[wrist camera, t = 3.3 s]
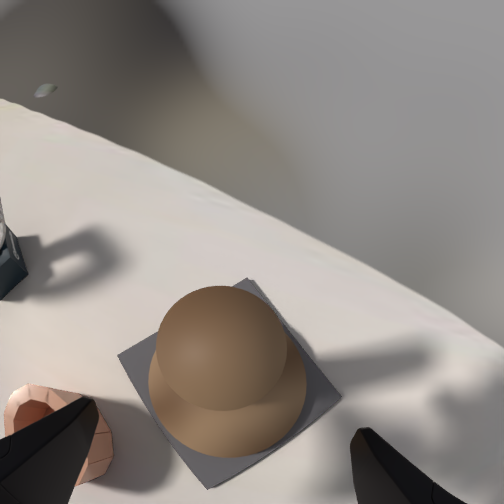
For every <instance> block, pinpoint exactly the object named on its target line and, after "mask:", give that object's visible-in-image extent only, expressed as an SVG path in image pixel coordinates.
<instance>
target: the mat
mask: <svg viewBox="0 0 504 504" xmlns="http://www.w3.org/2000/svg"><path fill="white" fill-rule="evenodd" d="M232 287H235V288H239V289H243V290H245V291H248V292H250V293H252V294H254V295H256V296H257V297H259V298H260V299H262V300H263V301H264V302H265V303H266V304H267V302H266V301H265V300H264V299H263V297H262V296H261V295H260V293H259V292H258V291H257V290H256V288H255V287H254V286H253V284H252V283H251V282H250V281H249V279H248V278H245V279H244V280H242V281H240V282H239V283H237V284H236V285H234V286H232ZM269 307H270V306H269ZM277 317H278V316H277ZM279 320H280V319H279ZM280 322H281V320H280ZM281 324H282V327H283V329H284V332H285V333H286V334H287V335H288V336H289V338H290V339H291V340H292V342H293V343H294V344H295V346H296V348H297V349H298V351H299V353H300V355H301V358H302V361H303V364H304V368H305V372H306V382H307V386H306V396H305V401H304V405H303V408H302V410H301V413H300V415H299V417H298V419H297V421H296V422H295V424H294V425H293V426H292V428H291V429H290V430H289V432H288V433H287V434H286V435H285V436H284V437H283V438H281V439H280V440H279V441H278V442H276V443H275V444H274V445H272V446H270V447H269V448H267V449H265V450H263V451H260V452H258V453H255V454H252V455H248V456H243V457H236V458H222V457H214V456H210V455H206V454H202V453H200V452H197V451H195V450H193V449H191V448H189V447H187V446H186V445H184V444H182V443H181V442H180V441H178V440H177V439H176V438H174V437H173V436H172V435H171V434H170V433H169V432H168V431H167V429H166V428H165V427H164V426H163V424H162V423H161V421H160V420H159V418H158V416H157V414H156V413H155V410H154V408H153V405H152V402H151V398H150V394H149V385H148V380H149V370H150V364H151V361H152V358H153V355H154V353H155V351H156V340H157V335H158V332H156V333H154V334H153V335H151V336H149V337H148V338H146V339H144V340H142V341H141V342H139V343H137V344H136V345H134V346H132V347H131V348H129V349H127V350H125V351H124V352H122V353H120V354H119V355H117V356H118V358H119V360H120V362H121V364H122V366H123V367H124V369H125V371H126V373H127V375H128V377H129V378H130V380H131V382H132V384H133V386H134V387H135V389H136V391H137V393H138V394H139V396H140V398H141V399H142V401H143V403H144V404H145V406H146V407H147V409H148V411H149V412H150V414H151V415H152V417H153V418H154V420H155V422H156V423H157V425H158V426H159V428H160V429H161V430H162V432H163V433H164V435H165V436H166V438H167V439H168V441H169V442H170V443H171V445H172V446H173V448H174V449H175V450H176V452H177V453H178V454H179V456H180V457H181V458H182V460H183V461H184V462H185V463H186V465H187V466H188V467H189V469H190V470H191V471H192V472H193V473H194V475H195V476H196V477H197V478H198V480H199V481H200V482H201V483H202V484H203V485H204V487H205V488H206V489H207V490H208V489H210V488H212V487H213V486H215V485H217V484H219V483H221V482H223V481H225V480H226V479H228V478H230V477H232V476H233V475H235V474H237V473H239V472H240V471H242V470H244V469H245V468H247V467H249V466H250V465H252V464H253V463H255V462H257V461H258V460H260V459H261V458H263V457H264V456H266V455H267V454H269V453H270V452H272V451H273V450H275V449H276V448H278V447H279V446H281V445H282V444H283V443H285V442H286V441H288V440H289V439H290V438H292V437H293V436H294V435H296V434H297V433H298V432H300V431H301V430H302V429H304V428H305V427H306V426H308V425H309V424H310V423H311V422H313V421H314V420H315V419H316V418H318V417H319V416H320V415H321V414H323V413H324V412H325V411H326V410H327V409H329V408H330V407H331V406H332V405H333V404H334V403H336V402H337V401H338V400H339V399H340V398H341V397H342V396H341V395H340V394H339V393H338V391H337V390H336V389H335V388H334V386H333V385H332V384H331V383H330V382H329V380H328V379H327V378H326V377H325V375H324V374H323V373H322V372H321V370H320V369H319V368H318V367H317V365H316V364H315V363H314V362H313V360H312V359H311V358H310V357H309V355H308V354H307V353H306V352H305V350H304V349H303V348H302V347H301V345H300V344H299V343H298V342H297V340H296V339H295V338H294V337H293V335H292V334H291V333H290V332H289V330H288V329H287V328H286V327H285V325H284V324H283V323H282V322H281Z"/></svg>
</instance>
